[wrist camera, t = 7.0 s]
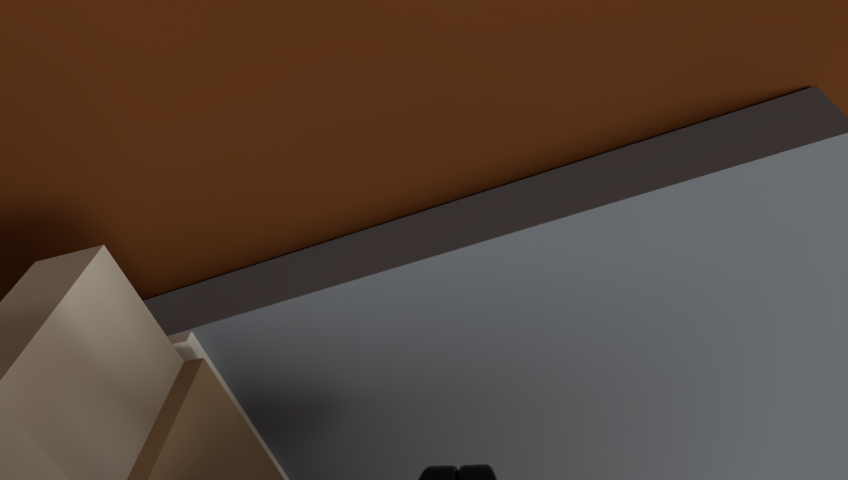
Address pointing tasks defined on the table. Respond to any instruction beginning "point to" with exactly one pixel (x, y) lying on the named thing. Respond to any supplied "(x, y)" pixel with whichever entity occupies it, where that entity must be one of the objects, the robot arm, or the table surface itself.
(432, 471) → the robot arm
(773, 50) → the table surface
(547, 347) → the board
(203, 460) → the peg lever
